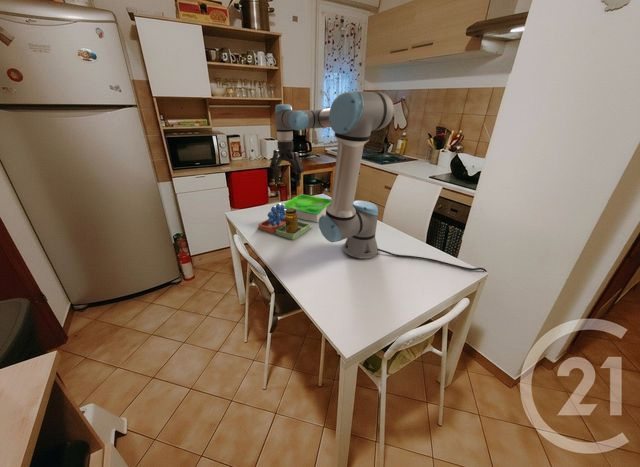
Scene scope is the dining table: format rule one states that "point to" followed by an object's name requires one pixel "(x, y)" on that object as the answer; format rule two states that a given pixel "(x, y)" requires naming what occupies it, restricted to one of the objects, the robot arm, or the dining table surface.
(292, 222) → the condiment
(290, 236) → the green tray
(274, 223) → the grapes
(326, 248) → the dining table surface
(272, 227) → the terracotta tray
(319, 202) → the tray
